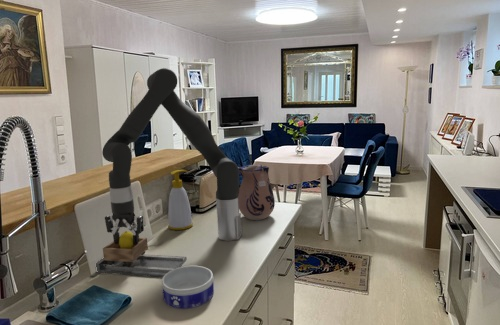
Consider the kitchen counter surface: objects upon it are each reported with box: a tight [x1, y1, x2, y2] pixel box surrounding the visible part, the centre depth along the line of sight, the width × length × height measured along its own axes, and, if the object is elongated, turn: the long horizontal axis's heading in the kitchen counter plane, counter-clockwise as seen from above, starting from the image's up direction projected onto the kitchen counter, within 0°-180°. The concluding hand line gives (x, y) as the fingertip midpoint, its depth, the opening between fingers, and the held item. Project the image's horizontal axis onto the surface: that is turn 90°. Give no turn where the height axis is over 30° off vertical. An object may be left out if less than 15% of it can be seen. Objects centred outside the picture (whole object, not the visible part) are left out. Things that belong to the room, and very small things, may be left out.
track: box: [95, 254, 187, 278], centre depth 133 cm, size 28×14×3 cm, turn 78°
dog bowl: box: [161, 265, 215, 310], centre depth 112 cm, size 15×15×6 cm
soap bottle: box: [167, 169, 194, 231], centre depth 170 cm, size 11×12×26 cm
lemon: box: [119, 230, 135, 249], centre depth 133 cm, size 6×6×8 cm
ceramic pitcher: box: [238, 163, 275, 221], centre depth 178 cm, size 18×21×25 cm
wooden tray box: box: [102, 236, 149, 266], centre depth 134 cm, size 11×11×6 cm
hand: (126, 243), depth 133 cm, fingers open, 6 cm apart
